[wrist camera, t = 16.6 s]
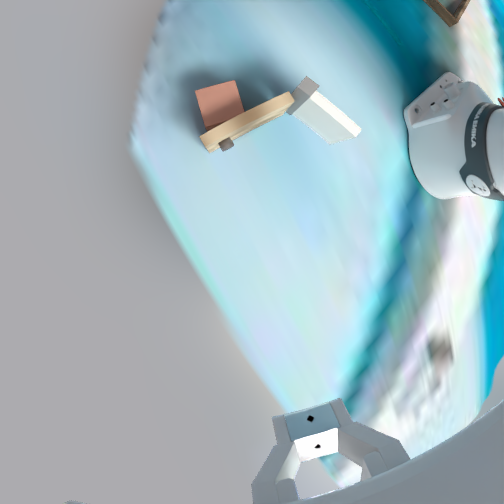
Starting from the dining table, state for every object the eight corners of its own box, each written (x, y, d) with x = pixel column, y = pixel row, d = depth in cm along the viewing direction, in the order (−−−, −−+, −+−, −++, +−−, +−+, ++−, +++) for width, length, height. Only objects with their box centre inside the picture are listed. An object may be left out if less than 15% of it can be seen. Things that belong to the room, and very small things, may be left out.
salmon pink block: (199, 102, 32) (194, 90, 27) (233, 92, 32) (234, 80, 27) (208, 134, 33) (205, 127, 28) (243, 124, 33) (245, 115, 28)
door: (277, 107, 32) (288, 91, 25) (286, 122, 33) (299, 109, 26) (204, 144, 33) (199, 136, 26) (213, 160, 33) (210, 155, 26)
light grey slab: (287, 98, 32) (306, 76, 24) (335, 136, 34) (367, 126, 25) (280, 107, 32) (297, 86, 24) (329, 145, 34) (359, 137, 25)
